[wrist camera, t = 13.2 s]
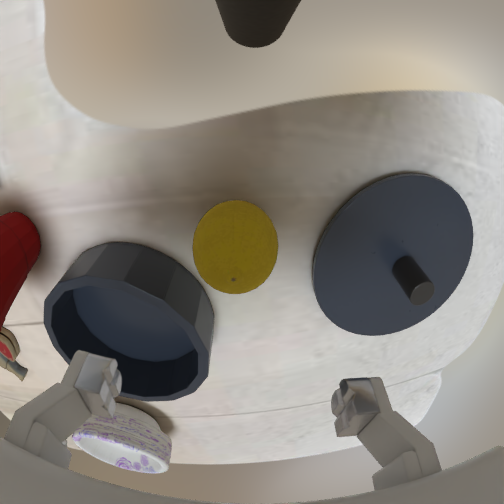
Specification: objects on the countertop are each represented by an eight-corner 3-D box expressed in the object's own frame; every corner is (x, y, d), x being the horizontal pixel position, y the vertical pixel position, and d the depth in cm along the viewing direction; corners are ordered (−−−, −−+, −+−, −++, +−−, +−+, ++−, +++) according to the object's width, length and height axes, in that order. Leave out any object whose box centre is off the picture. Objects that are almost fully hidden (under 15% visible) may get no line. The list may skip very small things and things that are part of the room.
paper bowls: (132, 440, 44) (124, 474, 37) (69, 396, 37) (54, 434, 30) (194, 432, 40) (189, 474, 34) (125, 382, 34) (110, 432, 27)
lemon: (227, 262, 25) (220, 330, 18) (188, 209, 22) (162, 264, 16) (286, 231, 24) (301, 292, 17) (249, 172, 21) (250, 213, 14)
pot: (55, 234, 23) (24, 264, 19) (219, 252, 24) (212, 292, 20) (86, 349, 31) (70, 383, 26) (210, 371, 32) (207, 410, 27)
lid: (336, 151, 20) (360, 167, 16) (486, 194, 22) (520, 216, 17) (293, 325, 28) (299, 365, 24) (427, 327, 30) (445, 359, 25)
